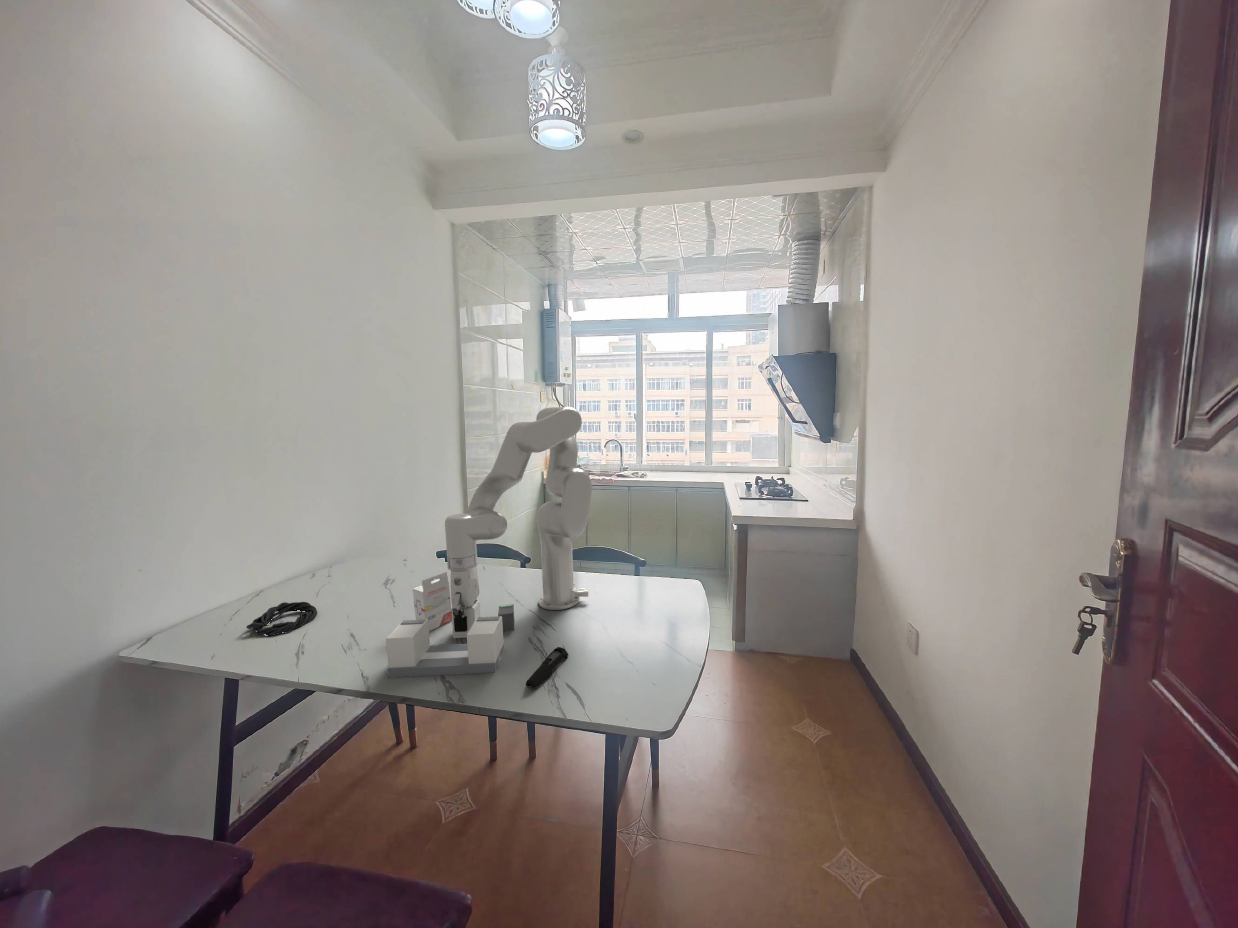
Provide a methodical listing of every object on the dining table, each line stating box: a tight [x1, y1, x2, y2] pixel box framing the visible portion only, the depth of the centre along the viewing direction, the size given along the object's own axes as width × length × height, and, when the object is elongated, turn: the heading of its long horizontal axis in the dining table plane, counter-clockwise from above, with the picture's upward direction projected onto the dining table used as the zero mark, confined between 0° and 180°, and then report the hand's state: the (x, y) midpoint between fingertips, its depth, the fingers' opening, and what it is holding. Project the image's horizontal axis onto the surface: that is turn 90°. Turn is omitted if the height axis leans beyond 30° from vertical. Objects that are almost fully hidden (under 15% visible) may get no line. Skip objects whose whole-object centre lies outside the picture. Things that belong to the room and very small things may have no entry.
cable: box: [246, 601, 318, 636], centre depth 134 cm, size 17×14×4 cm
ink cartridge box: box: [412, 571, 452, 632], centre depth 129 cm, size 9×5×15 cm, turn 148°
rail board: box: [385, 615, 505, 678], centre depth 109 cm, size 24×10×9 cm, turn 92°
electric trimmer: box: [525, 646, 569, 689], centre depth 104 cm, size 4×16×3 cm, turn 159°
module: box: [451, 599, 481, 639], centre depth 124 cm, size 6×5×8 cm
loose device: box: [497, 603, 515, 633], centre depth 127 cm, size 4×6×5 cm, turn 12°
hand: (466, 623), depth 124 cm, fingers open, 8 cm apart
